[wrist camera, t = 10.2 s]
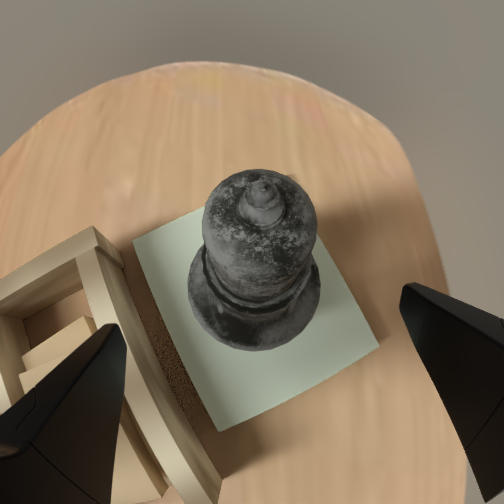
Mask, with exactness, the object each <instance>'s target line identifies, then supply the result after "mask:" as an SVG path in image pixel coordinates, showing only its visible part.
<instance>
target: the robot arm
mask: <svg viewBox="0 0 504 504" xmlns="http://www.w3.org/2000/svg"><path fill="white" fill-rule="evenodd" d="M399 309H400V313H401V315H402V318H403V320H404V322H405V325H406V327H407V329H408V332H409V334H410V337H411V339H412V342H413V344H414V346H415V348H416V350H417V352H418V354H419V356H420V358H421V360H422V362H423V364H424V366H425V368H426V370H427V372H428V373H429V375H430V377H431V379H432V381H433V383H434V385H435V387H436V389H437V391H438V393H439V395H440V398H441V400H442V402H443V404H444V406H445V408H446V410H447V412H448V414H449V416H450V419H451V421H452V423H453V425H454V427H455V430H456V432H457V434H458V436H459V439H460V441H461V443H462V446H463V448H464V450H465V453H466V456H467V458H468V460H469V463H470V465H471V468H472V470H473V473H474V475H475V478H476V480H477V483H478V486H479V489H480V491H481V494H482V497H483V499H484V501H485V503H487V502H488V501H490V500H491V499H493V498H494V497H496V496H497V495H499V494H500V493H502V492H503V491H504V319H502V318H500V319H499V318H498V317H497V316H495V315H492V314H490V313H488V312H485V311H483V310H481V309H478V308H476V307H474V306H471V305H469V304H466V303H464V302H462V301H460V300H457V299H455V298H452V297H450V296H448V295H445V294H443V293H440V292H438V291H436V290H433V289H431V288H428V287H426V286H423V285H421V284H418V283H416V282H413V283H408V284H405V285H404V286H403V289H402V294H401V299H400V304H399ZM126 358H127V345H126V342H125V339H124V337H123V334H122V332H121V329H120V327H119V325H118V324H117V323H107V324H104V325H103V326H102V327H101V328H99V329H98V330H97V331H96V332H95V333H94V334H92V335H91V336H90V337H89V338H88V339H87V340H86V341H84V342H83V343H82V344H81V345H80V346H79V347H78V348H76V349H75V350H74V351H73V352H72V353H71V354H70V355H68V356H67V357H66V358H65V359H64V360H63V361H62V362H60V363H59V364H58V365H57V366H56V367H55V368H54V369H53V370H52V371H50V372H49V373H48V374H47V375H46V376H45V377H44V378H43V379H42V380H40V381H39V382H38V383H37V384H36V385H35V387H33V388H32V389H30V390H29V391H28V392H27V393H26V394H25V395H24V396H23V397H22V398H21V399H19V400H18V401H17V402H16V403H15V404H14V405H12V406H11V407H10V408H9V409H7V410H6V411H5V412H4V413H2V414H1V415H0V504H111V494H112V482H113V472H114V462H115V454H116V445H117V438H118V430H119V423H120V416H121V410H122V404H123V397H124V390H125V374H126Z"/></svg>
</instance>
